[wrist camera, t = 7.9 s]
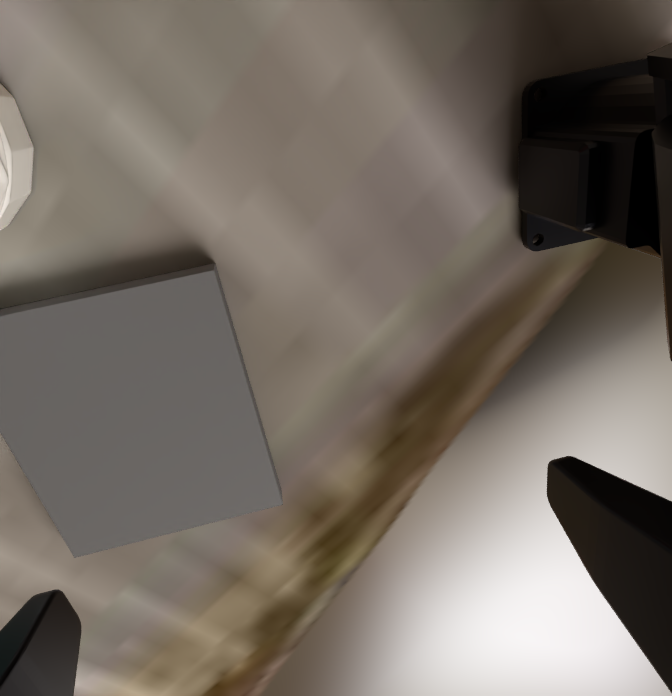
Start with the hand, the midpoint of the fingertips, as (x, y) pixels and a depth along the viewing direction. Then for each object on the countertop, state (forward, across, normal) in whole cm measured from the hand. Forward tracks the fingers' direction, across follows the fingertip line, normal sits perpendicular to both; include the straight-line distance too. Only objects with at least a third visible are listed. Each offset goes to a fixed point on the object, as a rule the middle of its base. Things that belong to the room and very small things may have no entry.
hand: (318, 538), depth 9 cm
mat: (+13, +7, +4) cm, 15 cm away
